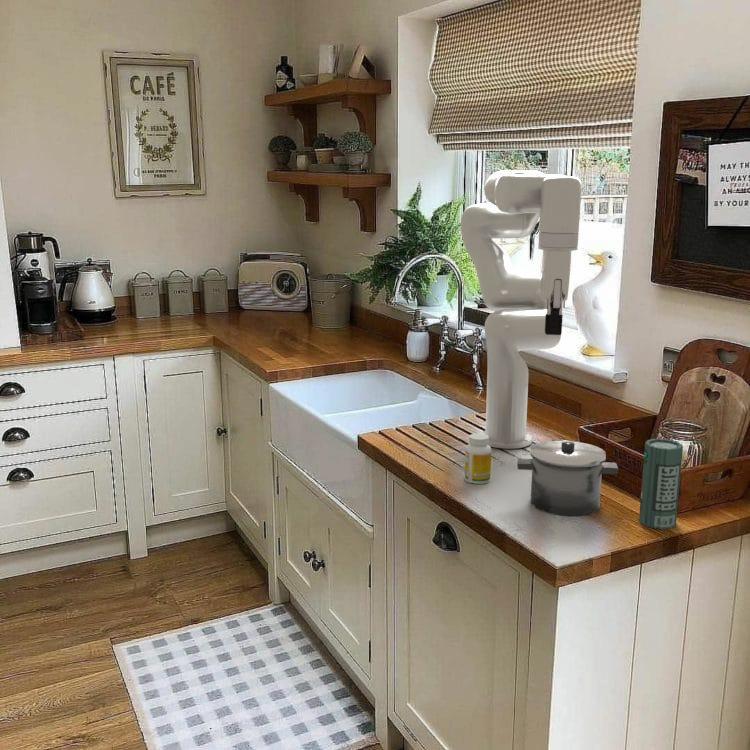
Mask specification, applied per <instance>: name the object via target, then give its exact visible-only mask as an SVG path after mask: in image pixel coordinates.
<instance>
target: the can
mask: <svg viewBox="0 0 750 750" xmlns="http://www.w3.org/2000/svg"><path fill="white" fill-rule="evenodd" d="M683 449H684V444H682V443H680V442H678V441H675V440H672V439H667V438H650V439H647V440H646V441H645V442H644V453H643V454H644V455H643V467H642V478H641V479H642V480H641V490H640V501H639V502H640V503H639V504H640V505H639V515H638V516H639V517H638V519H639V520H638V521H639V523H640V524H642V525H643V526H646V525H647V526H646V527H647V528H651V529H654V528H655V529H656V528H657V529H658V528H659V530H667V529H666V528H671V527H673V528H674V527H676V525H677V513H678V505H679V493H680V484H681V483H680V481H681V473H682V471H681V470H682V462H683Z"/></svg>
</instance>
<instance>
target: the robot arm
mask: <svg viewBox="0 0 750 750" xmlns="http://www.w3.org/2000/svg"><path fill="white" fill-rule="evenodd" d="M483 188H484V189H483V190H484V196H485V198H486V199H487V201H488V202H485V203H477V204H473V205H470V206H468V207H466V208H465V209H464V211H463V212H462V214H461V219H460V231H461V232H460V233H461V238H462V239H461V240H462V242H463V245H464V248H465V250H466V252H467V254H468V255H469V257H470V259H471V261H472V263H473V265H474V268H475V270H476V276H477V279H478V285H479V287H480V292H481V295H482V298H483V299H482V300H483V302H484V305H485V306H486V308H487V309H488V310H490V311H492V313H490V314H489V315H488V316H487V317H486V319H485V322H484V337H485V343H486V344H485V345H486V352H487V353H486V356H487V358H486V359H487V374H486V375H487V376H486V377H487V378H486V379H487V380H486V404H485V406H486V409H485V430H483V431H482V432H480V434H486V435H488V436H489V443H488V444H487V445H489V446H490V447H492V448H496V449H505V450H506V449H507V450H508V449H510V450H511V449H512V450H513V449H521V448H525V447H528V446H530V445H531V444H532V443H533V436H532V435H531V434H530V433H528V432H527V415H528V414H527V413H528V393H529V367H528V365H527V363H526V362H525V360H524V359H523V358H522V357H521V355H520V353H519V352H521V351H532V350H533V351H537V350H550V349H553V348H555V347H556V346H557V345H558V344H559V343H560V341H561V337H562V333H563V306H564V305H563V304H564V302H567V300H568V296H569V289H570V279H571V277H570V276H571V264H572V262H571V261H572V251H573V252H574V251H578V249H579V248H578V247H579V231H580V216H581V199H582V181H581V180H580V178H578V177H576V176H567V175H562V174H544V173H543V172H541V171H538V170H500V171H496V172H494V173H493V174H491V175H490V176H489V177H488V179H487V180H486V182H485V184H484V187H483ZM538 221H539V229H538V248H537V249H538V250H541V251H543V252H542V260H541V270H540V271H541V273H540V272H538V271H516V270H515V269H513V265H512V261H511V259H510V256H509V254H508V253H507V252H506V251H505V250H504V249H503V248H502V246H500V245H499V244H498V243H497V242H495V241H494V240H493V239H523V238H526V237H529V236H530V235H531V234H532V232H533V231H534V229H535V227H536V226H537V224H538Z"/></svg>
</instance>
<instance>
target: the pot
mask: <svg viewBox="0 0 750 750" xmlns="http://www.w3.org/2000/svg"><path fill="white" fill-rule="evenodd" d="M516 461H517V470H520V471H521V470H524V471H531V485H530V487H531V488H530V504H531V505H532V506H533V507H534V508H535V509H538V510H540V511H541V512H545V513H547V514H550V515H556V516H561V517H562V516H564V517H581V516H582V517H583V516H588V515H592V514H594V513H596V512H597V511H599V509H600V504H601V488H602V476H603V475H602V474H605V475H606V474H608V475H619V466H618V464H617V462H607V461H604V462H603V463H602V464H599V465H596V466H591V467H561V466H554V465H549V464H545V463H542V462H539V461H537V460H535V459H533V458H517V460H516Z"/></svg>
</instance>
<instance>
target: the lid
mask: <svg viewBox="0 0 750 750" xmlns="http://www.w3.org/2000/svg"><path fill="white" fill-rule="evenodd" d="M529 451H530V453H529V454H530V457H531V459H535V460H537V461H539V462H542V463H545V464H549V465H554V466H561V467H591V466H596V465H599V464H602V463H603V462H606V459H607V458H606V456H607V455H606V451H605V450H604V449H603V448H600V447H599V446H596V445H593V444H589V443H585V442H581V441H578V440H568V439H567V440H565V439H564V440H563V439H551V440H549V441H548V440H547V441H541V442H537V443H535V444H533V445H531V447H530V450H529Z"/></svg>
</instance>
